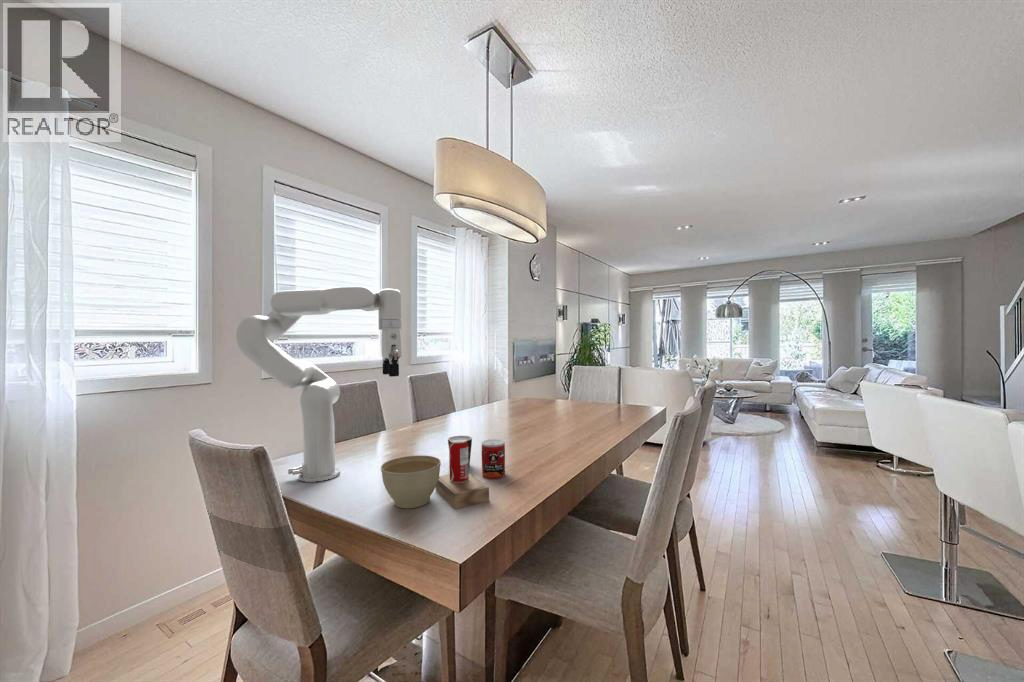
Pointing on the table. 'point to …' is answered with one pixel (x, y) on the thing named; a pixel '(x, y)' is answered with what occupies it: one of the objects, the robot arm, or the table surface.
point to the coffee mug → (469, 440)
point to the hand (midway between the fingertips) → (390, 375)
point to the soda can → (458, 460)
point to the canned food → (493, 458)
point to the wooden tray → (462, 491)
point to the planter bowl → (411, 479)
